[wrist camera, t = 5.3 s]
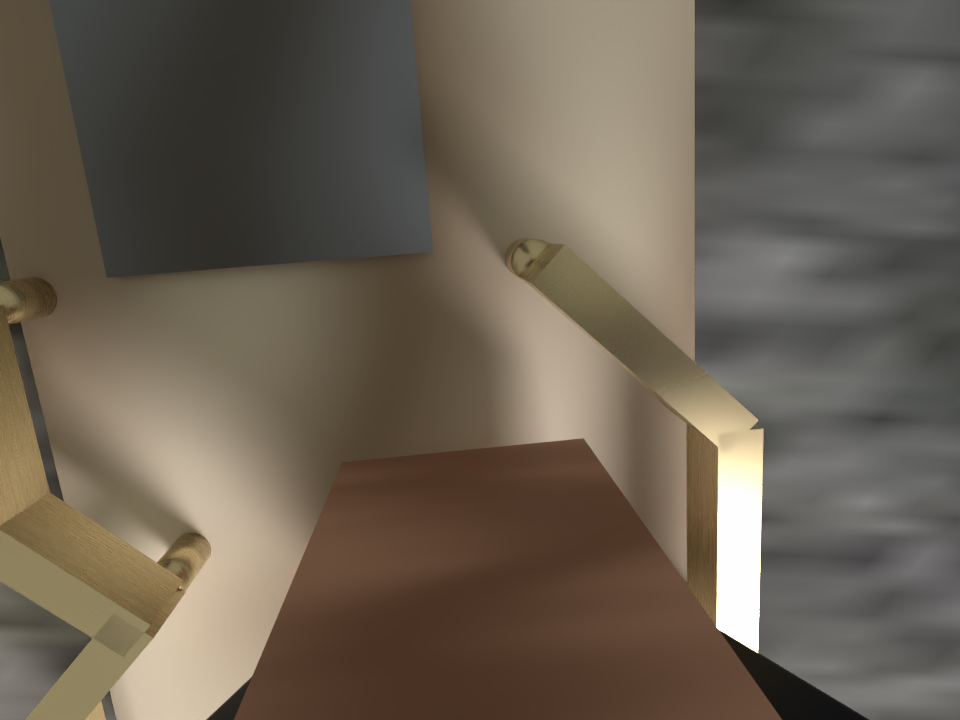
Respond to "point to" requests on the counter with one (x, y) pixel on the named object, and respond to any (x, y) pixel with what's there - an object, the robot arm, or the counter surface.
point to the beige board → (332, 265)
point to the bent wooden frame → (160, 586)
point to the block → (492, 602)
